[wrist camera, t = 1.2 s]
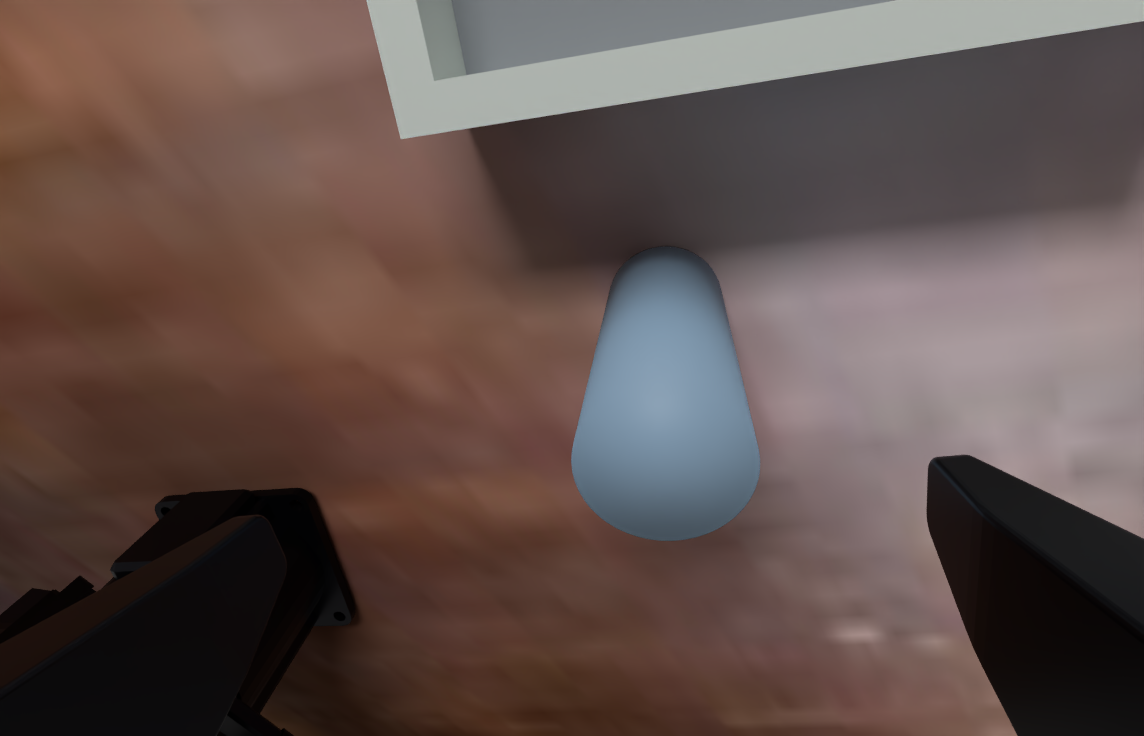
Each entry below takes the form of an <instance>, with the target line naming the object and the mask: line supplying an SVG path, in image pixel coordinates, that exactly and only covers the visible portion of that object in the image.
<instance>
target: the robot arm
mask: <svg viewBox="0 0 1144 736" xmlns="http://www.w3.org/2000/svg"><path fill="white" fill-rule="evenodd" d="M296 500H297V501H299V502H300V503H301V504H299V503H297V502H296ZM155 512H156V514H157V516H158V518H159V521H158V522H157V523H156V524H155V525H153V526H152V527H151V528H150V529H149V530H148V531H147V532H146V533H145V534H144V535H143V536H142V537H140V538H139V539H138V540H137V541H136V542H135V543H134V544H133V545H132V546H131V547H130V548H129V549H127V550H126V551H125V552H124V553H123V554H122V555H121V556H120V557H119V558H118V559H117V560H115V562H114V563H113V565H112V567H111V569H110V570H111V573H112V574H113V576H114V577H113V578H112V579H111V580H110V581H109V582H108V583H107V584H106V585H105V586H104V587H103V588H102V589H101V590H99V591H97V592H96V591H95V590H93V589H92V588H93V587H94V585H92V584H91V583H90V582H88V581H87V580H86V579H84V578H83V577H82V576H78V577H77V578H76V579H75V580H74V581H73V582H71V583H70V584H69V585H68V586H67V587H66V588H65V589H63V590H62V591H61V592H58V591H57V590H56V589H55V590H52V591H48V590H41V589H34V588H32V589H31V590H29V591H28V592H27V593H26V594H25V595H23V596H22V597H21V598H20V599H19V600H17V601H16V602H15V603H14V604H13V605H12V606H10V607H9V608H8V609H7V610H6V611H4V612H3V613H2V614H1V615H0V736H294V735H292V734H291V733H290V732H288V731H287V730H286V729H282V730H280V729H279V728H278V727H276V726H275V725H274V724H272V723H271V722H270V721H268V720H267V719H266V718H264V717H263V716H262V715H260V712H261V711H262V709H263V707H264V706H265V704H266V703H267V701H268V699H269V698H270V696H271V694H272V693H273V691H274V690H275V688H276V686H277V685H278V683H279V681H280V680H281V678H282V677H283V675H284V673H285V672H286V670H287V668H288V667H289V665H290V664H291V662H292V660H293V659H294V657H295V655H296V654H297V652H298V651H299V649H300V647H301V646H302V644H303V642H304V641H305V639H306V638H307V636H308V634H309V633H310V631H311V629H312V628H313V626H344V625H348V624H349V623H350V622H351V620H352V618H353V617H354V615H355V607H354V605H353V602H352V599H351V597H350V594H349V591H348V589H347V586H346V584H345V581H344V578H343V576H342V573H341V570H340V568H339V565H338V562H337V560H336V557H335V554H334V552H333V549H332V547H331V544H330V541H329V539H328V536H327V533H326V531H325V528H324V525H323V523H322V520H321V518H320V515H319V512H318V510H317V507H316V504H315V502H314V499H313V497H312V495H311V494H310V493H309V492H308V491H306V490H304V489H301V488H288V489H272V490H255V491H249V490H245V489H242V490H225V491H209V492H192V493H189V494H187V495H172V496H166V497H164V498H163V499H162V500H161V501H160V502H158V503H157V504H156V505H155ZM927 522H928V527H929V531H930V534H931V537H932V540H933V543H934V545H935V548H936V551H937V553H938V556H939V559H940V561H941V564H942V567H943V569H944V572H945V575H946V578H947V580H948V583H949V586H950V588H951V591H952V594H953V596H954V599H955V602H956V604H957V607H958V610H959V612H960V615H961V618H962V620H963V623H964V626H965V628H966V631H967V633H968V636H969V638H970V641H971V643H972V646H973V648H974V650H975V653H976V655H977V657H978V659H979V661H980V663H981V665H982V667H983V669H984V671H985V673H986V675H987V677H988V679H989V681H990V683H991V685H992V687H993V689H994V691H995V693H996V695H997V696H998V698H999V700H1000V702H1001V704H1002V706H1003V708H1004V710H1005V712H1006V714H1007V716H1008V718H1009V720H1010V722H1011V724H1012V726H1013V728H1014V730H1015V732H1016V733H1017V735H1018V736H1144V539H1143V538H1141V537H1139V536H1137V535H1135V534H1133V533H1131V532H1129V531H1127V530H1125V529H1122V528H1120V527H1118V526H1116V525H1114V524H1112V523H1110V522H1108V521H1106V520H1104V519H1102V518H1100V517H1097V516H1095V515H1093V514H1091V513H1089V512H1087V511H1085V510H1083V509H1081V508H1079V507H1077V506H1075V505H1072V504H1070V503H1068V502H1066V501H1064V500H1062V499H1060V498H1058V497H1056V496H1054V495H1052V494H1050V493H1048V492H1045V491H1043V490H1041V489H1039V488H1037V487H1035V486H1033V485H1031V484H1029V483H1027V482H1025V481H1023V480H1020V479H1018V478H1016V477H1014V476H1012V475H1010V474H1008V473H1006V472H1004V471H1002V470H1000V469H998V468H995V467H993V466H991V465H989V464H987V463H985V462H983V461H981V460H979V459H977V458H975V457H972V456H970V455H955V456H943V457H935V458H933V459H932V460H931V461H930V463H929V467H928V484H927Z"/></svg>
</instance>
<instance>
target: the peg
mask: <svg viewBox="0 0 1144 736" xmlns="http://www.w3.org/2000/svg"><path fill="white" fill-rule="evenodd" d="M571 463H572V472H573V476H574V480H575V483H576V485H577V488H578V490H579V492H580V494H581V495H582V497H583V499H584V500H585V502H586V503H587V504H588V505H589V507H590V508H591V509H592V510H593V511H594V512H595V513H596V514H597V515H598V516H599V517H601V518H602V519H603V520H605V521H606V522H607V523H609V524H610V525H612V526H614V527H615V528H617V529H619V530H621V531H624V532H626V533H628V534H631V535H634V536H637V537H641V538H646V539H651V540H660V541H676V540H685V539H690V538H695V537H698V536H702V535H705V534H708V533H710V532H712V531H714V530H717V529H718V528H720V527H722V526H723V525H725V524H727V523H728V522H729V521H731V520H732V519H733V518H734V517H736V516H737V515H738V514H739V512H740V511H741V510H742V509H743V508H744V507H745V506H746V504H747V503H748V502H749V500H750V498H751V496H752V495H753V493H754V491H755V488H756V485H757V482H758V478H759V473H760V455H759V449H758V444H757V440H756V436H755V432H754V428H753V423H752V419H751V415H750V411H749V406H748V402H747V398H746V394H745V389H744V385H743V381H742V377H741V372H740V368H739V364H738V360H737V355H736V351H735V347H734V343H733V338H732V334H731V330H730V326H729V321H728V317H727V313H726V309H725V304H724V300H723V296H722V292H721V288H720V284H719V281H718V279H717V276H716V275H715V273H714V271H713V270H712V268H711V267H710V266H709V265H708V264H707V263H706V262H705V261H704V260H703V259H702V258H700V257H699V256H697V255H696V254H694V253H692V252H690V251H688V250H685V249H682V248H677V247H668V246H665V247H655V248H651V249H647V250H644V251H642V252H640V253H638V254H636V255H635V256H633V257H631V258H630V259H629V260H628V261H627V262H625V263H624V264H623V266H622V267H621V268H620V269H619V271H618V272H617V273H616V275H615V277H614V279H613V281H612V284H611V287H610V291H609V296H608V300H607V304H606V308H605V313H604V317H603V321H602V325H601V329H600V334H599V338H598V342H597V346H596V351H595V355H594V359H593V363H592V368H591V372H590V376H589V380H588V384H587V389H586V393H585V397H584V401H583V406H582V410H581V414H580V418H579V422H578V427H577V431H576V435H575V439H574V444H573V449H572V460H571Z"/></svg>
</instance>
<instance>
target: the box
mask: <svg viewBox="0 0 1144 736" xmlns="http://www.w3.org/2000/svg"><path fill="white" fill-rule="evenodd" d="M367 4H368V9H369V13H370V17H371V21H372V25H373V29H374V33H375V37H376V41H377V45H378V49H379V53H380V57H381V61H382V65H383V69H384V73H385V77H386V81H387V85H388V89H389V93H390V97H391V101H392V105H393V109H394V113H395V118H396V122H397V126H398V130H399V134H400V138H401V139H405V138H411V137H417V136H424V135H430V134H436V133H443V132H449V131H455V130H462V129H468V128H474V127H480V126H487V125H493V124H499V123H506V122H512V121H518V120H524V119H531V118H537V117H543V116H550V115H556V114H562V113H568V112H575V111H581V110H587V109H594V108H600V107H606V106H612V105H619V104H625V103H631V102H638V101H644V100H650V99H657V98H663V97H669V96H675V95H682V94H688V93H694V92H701V91H707V90H713V89H719V88H726V87H732V86H738V85H745V84H751V83H757V82H763V81H770V80H776V79H782V78H789V77H795V76H801V75H808V74H814V73H820V72H826V71H833V70H839V69H845V68H852V67H858V66H864V65H870V64H877V63H883V62H889V61H896V60H902V59H908V58H914V57H921V56H927V55H933V54H940V53H946V52H952V51H958V50H965V49H971V48H977V47H984V46H990V45H996V44H1003V43H1009V42H1015V41H1021V40H1028V39H1034V38H1040V37H1047V36H1053V35H1059V34H1065V33H1072V32H1078V31H1084V30H1091V29H1097V28H1103V27H1109V26H1116V25H1122V24H1128V23H1135V22H1141V21H1144V0H367Z"/></svg>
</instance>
